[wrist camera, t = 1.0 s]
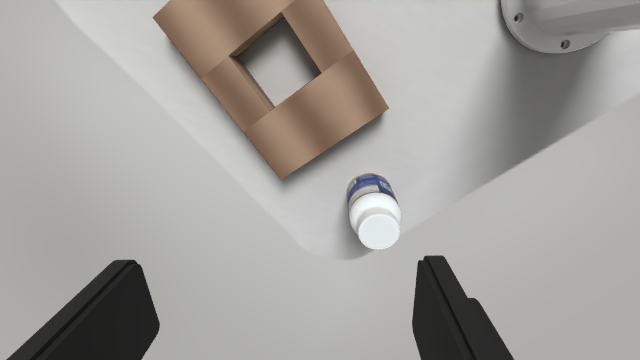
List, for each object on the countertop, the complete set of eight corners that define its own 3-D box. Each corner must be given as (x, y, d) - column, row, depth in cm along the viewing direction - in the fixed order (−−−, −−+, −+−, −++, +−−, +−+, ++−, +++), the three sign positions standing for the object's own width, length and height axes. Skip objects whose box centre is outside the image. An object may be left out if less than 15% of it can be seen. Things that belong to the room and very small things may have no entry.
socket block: (273, -78, 28) (266, -93, 25) (384, 104, 34) (389, 108, 31) (168, 20, 31) (152, 17, 29) (285, 170, 37) (281, 179, 34)
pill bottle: (396, 200, 38) (415, 245, 29) (356, 215, 39) (363, 263, 30) (381, 163, 36) (397, 199, 27) (340, 180, 37) (342, 219, 28)
